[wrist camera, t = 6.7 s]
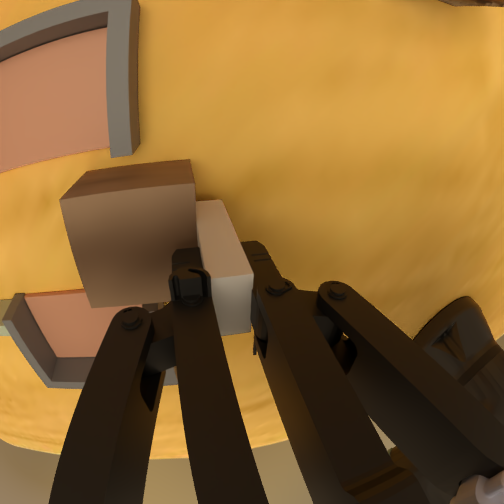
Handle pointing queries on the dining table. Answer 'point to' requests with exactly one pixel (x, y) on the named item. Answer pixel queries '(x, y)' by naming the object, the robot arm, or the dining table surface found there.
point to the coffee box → (475, 2)
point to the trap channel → (66, 143)
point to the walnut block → (130, 229)
